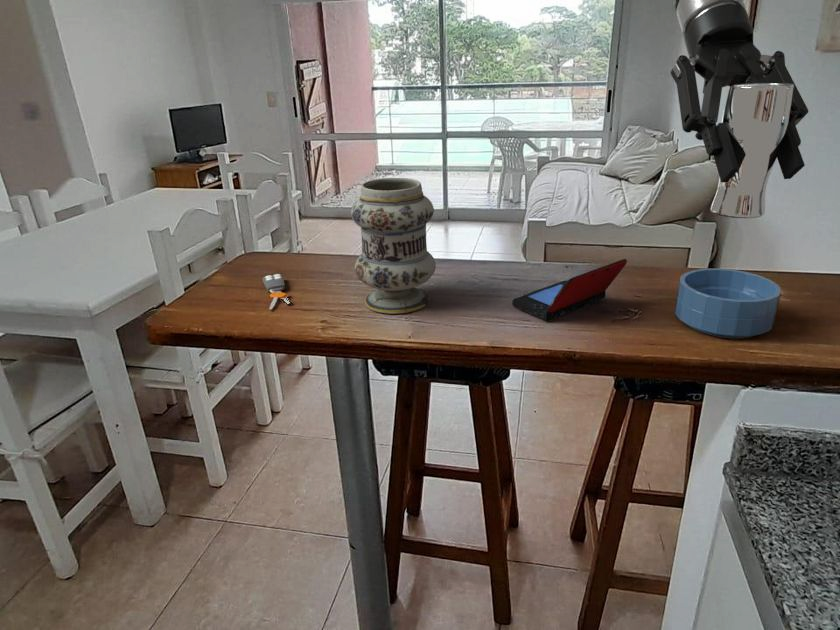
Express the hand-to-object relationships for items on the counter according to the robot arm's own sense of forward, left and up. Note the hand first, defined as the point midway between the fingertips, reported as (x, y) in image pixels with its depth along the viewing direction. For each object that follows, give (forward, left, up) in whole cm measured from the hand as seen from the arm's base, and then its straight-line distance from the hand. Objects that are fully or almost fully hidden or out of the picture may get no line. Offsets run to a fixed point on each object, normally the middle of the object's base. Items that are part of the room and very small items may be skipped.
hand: (762, 173), depth 67 cm
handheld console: (+17, -12, -20) cm, 29 cm away
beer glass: (-1, -3, -6) cm, 7 cm away
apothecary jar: (+40, -22, -20) cm, 50 cm away
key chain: (+58, -31, -20) cm, 69 cm away
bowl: (0, -1, -20) cm, 20 cm away
